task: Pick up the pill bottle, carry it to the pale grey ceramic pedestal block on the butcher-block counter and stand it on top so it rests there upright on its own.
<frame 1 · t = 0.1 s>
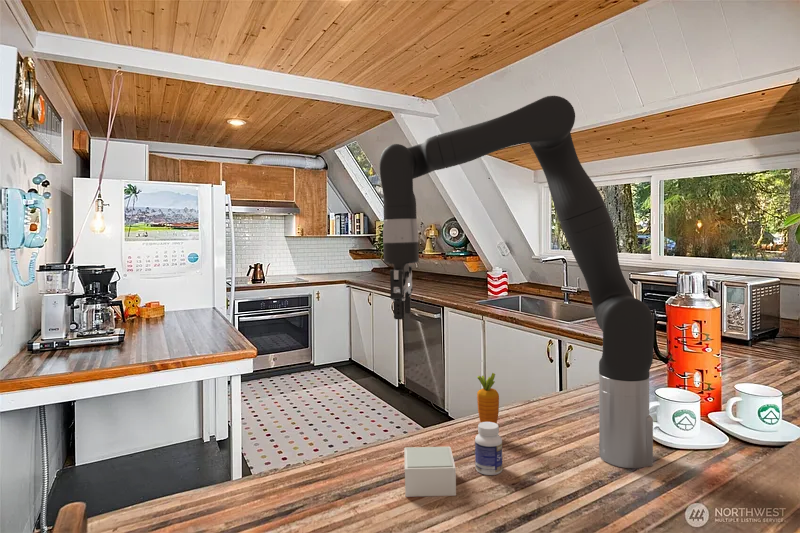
hand: (402, 316, 105), 29 cm above the countertop, fingers open, 8 cm apart
pedestal: (429, 483, 91), on the countertop
carrot: (488, 439, 110), on the countertop
pill bottle: (489, 470, 96), on the countertop
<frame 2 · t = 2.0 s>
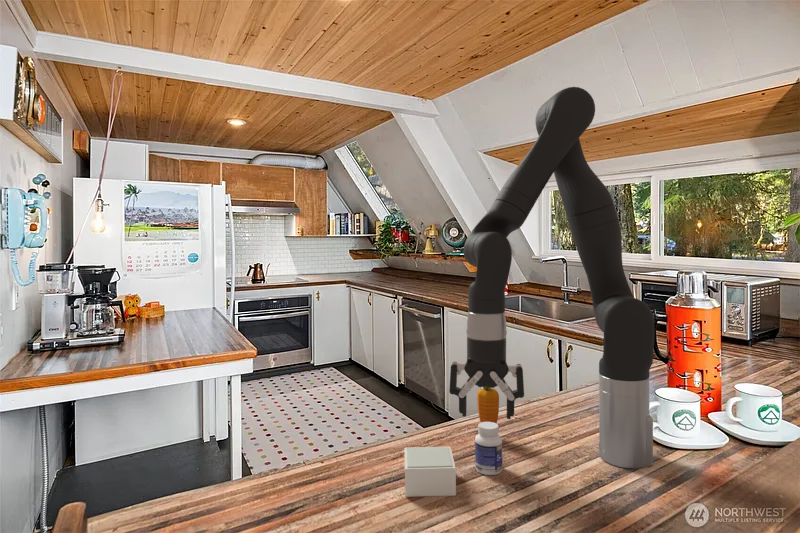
hand: (486, 416, 95), 10 cm above the countertop, fingers open, 8 cm apart
nothing on the countertop moved.
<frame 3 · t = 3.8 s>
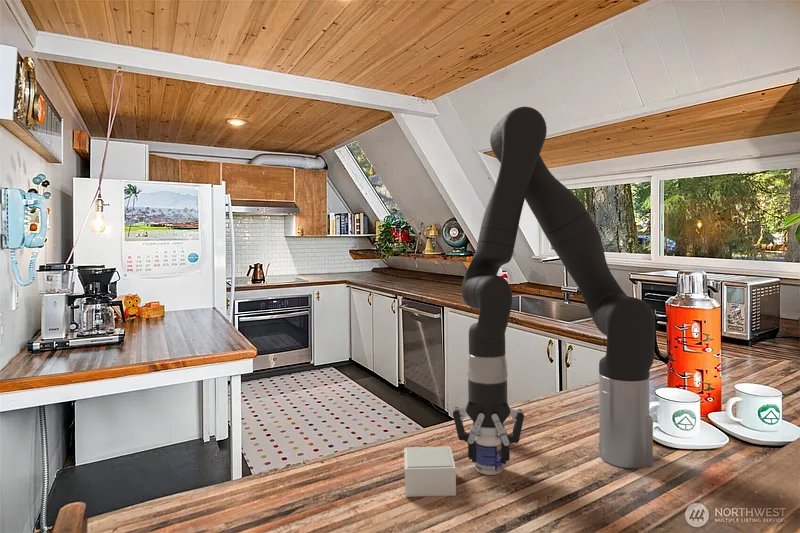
hand: (488, 461, 95), 2 cm above the countertop, fingers closed on pill bottle, 5 cm apart
pill bottle: (489, 470, 96), on the countertop, touching gripper
everything else where it was.
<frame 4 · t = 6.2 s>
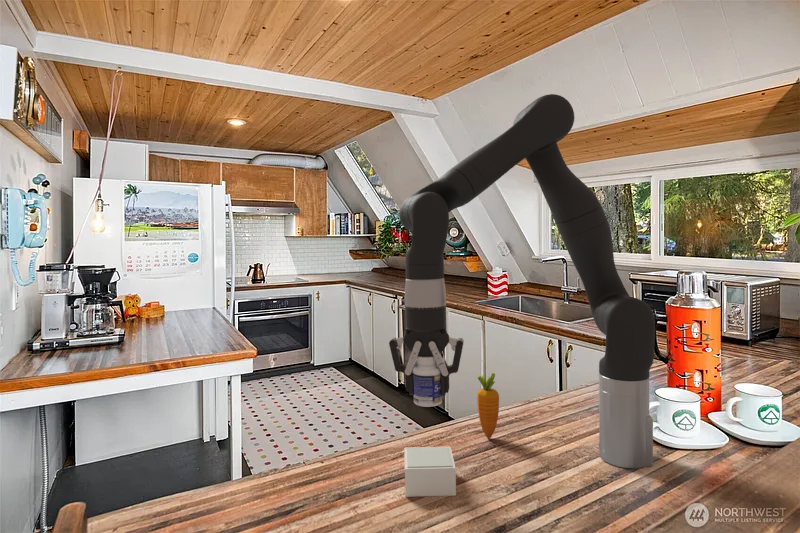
hand: (427, 393, 90), 17 cm above the countertop, fingers closed on pill bottle, 5 cm apart
pill bottle: (427, 403, 90), point 15 cm above the countertop, touching gripper
everything else where it was.
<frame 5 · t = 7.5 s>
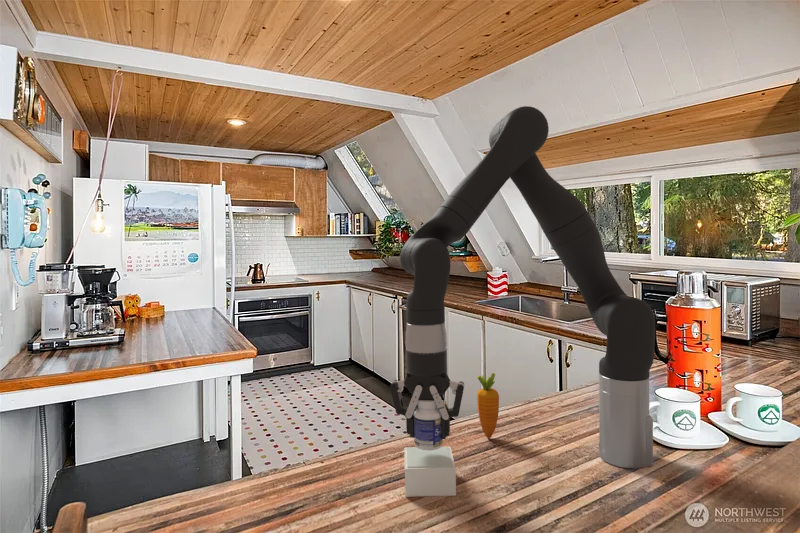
hand: (428, 436, 90), 9 cm above the countertop, fingers closed on pill bottle, 5 cm apart
pill bottle: (428, 446, 90), point 7 cm above the countertop, touching gripper
everything else where it was.
when the fingers open (8 cm above the countertop, at t = 8.6 s): pill bottle stays where it is, resting on pedestal.
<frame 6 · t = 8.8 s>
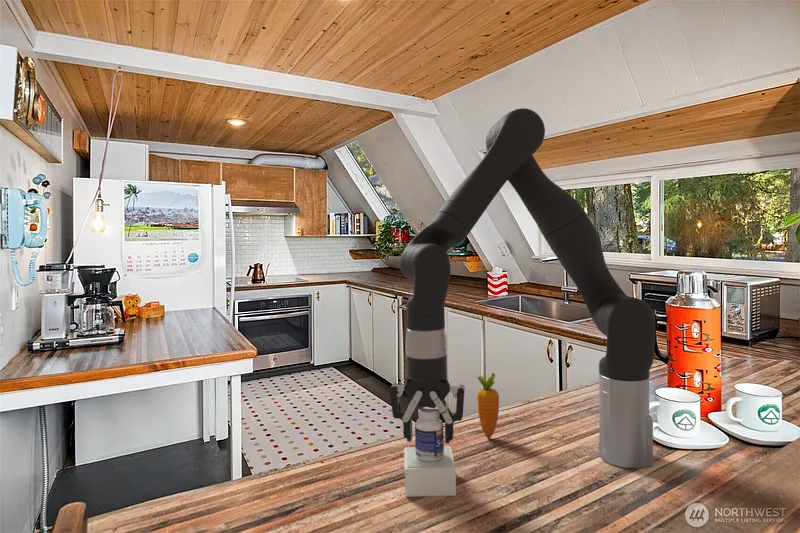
hand: (428, 440, 90), 8 cm above the countertop, fingers open, 6 cm apart
pill bottle: (429, 457, 90), point 5 cm above the countertop, touching pedestal
everything else where it was.
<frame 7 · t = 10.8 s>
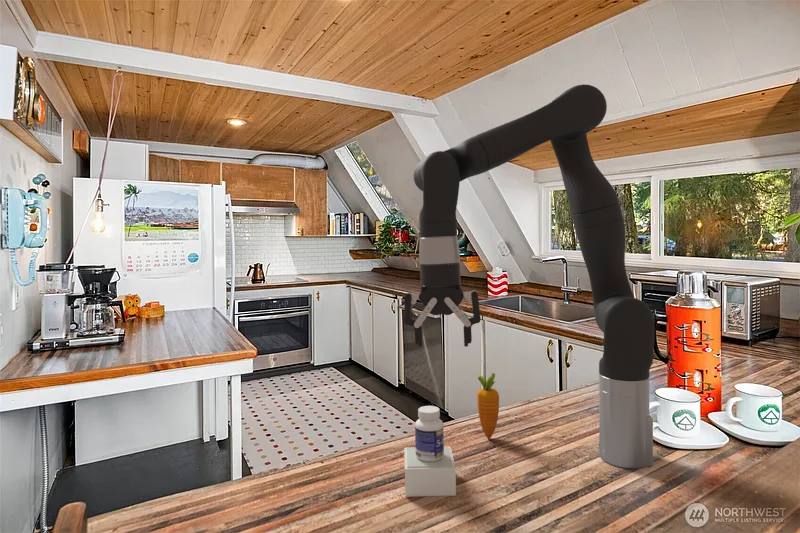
hand: (443, 346, 92), 25 cm above the countertop, fingers open, 8 cm apart
nothing on the countertop moved.
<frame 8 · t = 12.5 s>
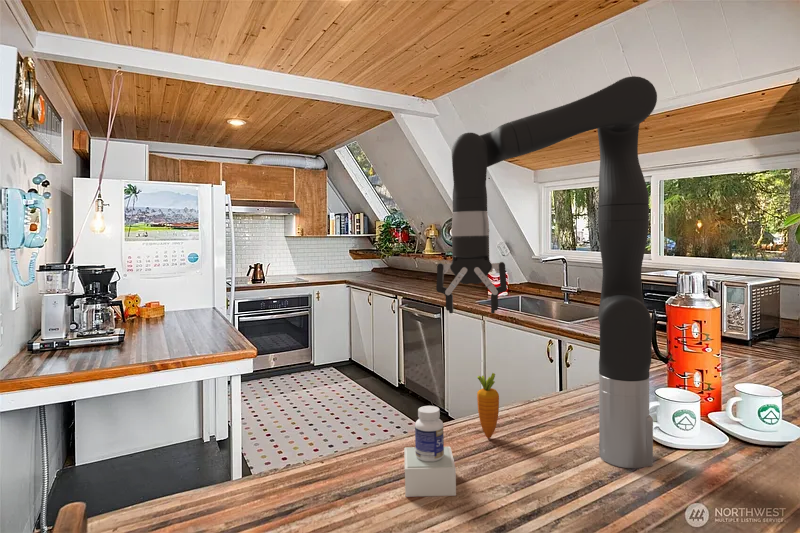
hand: (471, 312, 100), 30 cm above the countertop, fingers open, 8 cm apart
nothing on the countertop moved.
at the end: pill bottle inside the target area on the pedestal (0.2 cm from its centre), point 5.0 cm above the pedestal's base; pill bottle tilted 0°; the gripper is holding nothing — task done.
